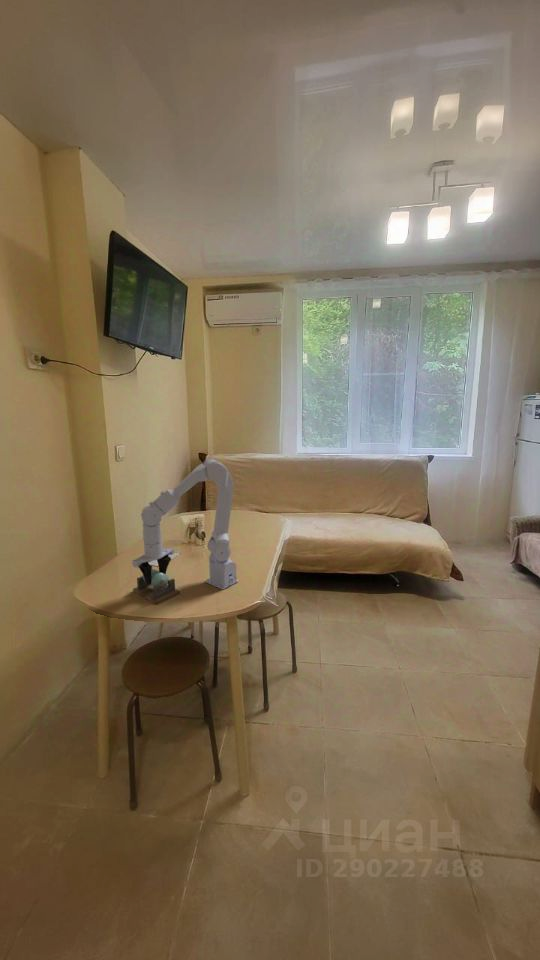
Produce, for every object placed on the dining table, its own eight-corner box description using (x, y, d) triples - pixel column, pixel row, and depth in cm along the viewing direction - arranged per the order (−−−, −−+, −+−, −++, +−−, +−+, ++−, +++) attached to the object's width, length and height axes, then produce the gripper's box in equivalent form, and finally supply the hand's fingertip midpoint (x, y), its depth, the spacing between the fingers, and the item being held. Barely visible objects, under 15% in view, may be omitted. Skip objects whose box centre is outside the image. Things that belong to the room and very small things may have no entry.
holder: (180, 593, 122) (179, 579, 121) (157, 604, 115) (156, 590, 114) (156, 581, 130) (155, 568, 130) (133, 591, 124) (132, 577, 123)
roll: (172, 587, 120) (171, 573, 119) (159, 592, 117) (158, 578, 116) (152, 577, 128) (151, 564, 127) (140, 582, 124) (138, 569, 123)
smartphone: (181, 553, 157) (159, 566, 143) (181, 554, 157) (159, 567, 143) (168, 551, 160) (145, 564, 146) (168, 552, 160) (145, 565, 146)
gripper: (164, 533, 127) (166, 569, 130) (126, 545, 116) (129, 584, 119) (176, 537, 123) (178, 575, 125) (138, 550, 112) (141, 591, 114)
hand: (155, 580), depth 122 cm, fingers closed on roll, 5 cm apart
